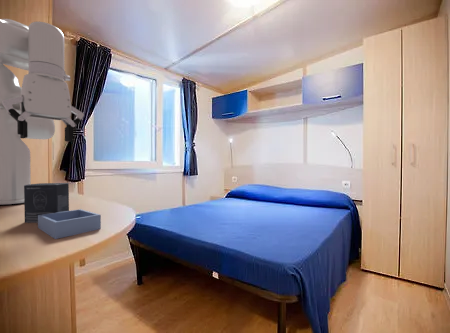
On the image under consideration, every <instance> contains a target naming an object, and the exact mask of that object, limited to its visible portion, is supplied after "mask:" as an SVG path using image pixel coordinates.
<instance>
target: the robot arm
mask: <svg viewBox="0 0 450 333" xmlns="http://www.w3.org/2000/svg"><path fill="white" fill-rule="evenodd" d="M7 66H9V67H13V68H17V69H20V70H24V71H28V73H27V74H25V75H24V76H23V80H22V84H21V86H20V80H19V78H18V77H17V76H16V74H15V73H14V72H13V71H12V70H11V69H10V68H8V67H7ZM67 81H68V82H70V81H71V76H70V75H68V74H67V73H66V71H65V36H64V33H63V32H62V30H61V29H59V28H58V27H56V26H55V25H53V24H51V23H48V22H44V21H33V22H31V23H30V24H29V25H27V24H24V23H21V22H19V21H16V20H13V19H10V18H0V205H3V206H4V205H12V204H13V205H14V204H15V205H16V204H24V185H28V184H32V183H31V179H32V177H31V176H32V175H31V150H30V148H29V146H28V145H27V144H26V143H25V141H24V140H23V139H29V140H31V139H33V140H49V139H51V138H53V136H55V132H56V126H55V121H61V122H63V123H64V125H65V127H64V142H67V143H68V142H69V143H70V142H72V141H73V139H74V136H75V134H74V129H75V127H76V126H77V125H79V124H80V123H81V121H82V119H83V117H84V115H85V114H84V113H83V111H81V110H79V109H77V108H76V107H75V106H73V105H72V104H71V93H70V88H69V85H68V83H67ZM72 114H74V115H75V118H73V120H72V118H71V117H72Z"/></svg>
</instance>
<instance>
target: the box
mask: <svg viewBox="0 0 450 333" xmlns="http://www.w3.org/2000/svg"><path fill="white" fill-rule="evenodd" d="M69 185H70V184H69V182H55V183H54V182H46V183H45V182H41V183H31V184H28V185H24V203H23V205H24V208H23V209H24V223H25V224H27V223H28V224H29V223H30V224H38V215H43V214H50V213H57V212H64V211H70V202H69V201H70V199H69V198H70V195H69V194H70V193H69V192H70V191H69V190H70V187H69Z"/></svg>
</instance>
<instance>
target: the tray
mask: <svg viewBox="0 0 450 333" xmlns="http://www.w3.org/2000/svg"><path fill="white" fill-rule="evenodd" d="M101 215H102V214H100V213H96V212H93V211H92V212H91V211H88V210H85V209H82V208H79V209H74V210H73V209H72V210H71V209H70V210H69V211H64V212H57V213H50V214H43V215H38V223H37V228H38V229H39V230H40V231H42V232H44V233H45V234H47V235H48V236H50V237H51V238H52V239H54V240H58V239H62V238H66V237H71V236H76V235H80V234H84V233H88V232H94V231H96V230H101V228H102V226H101V224H102V221H101V220H102V219H101Z"/></svg>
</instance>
